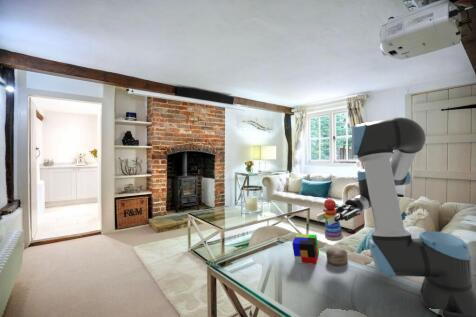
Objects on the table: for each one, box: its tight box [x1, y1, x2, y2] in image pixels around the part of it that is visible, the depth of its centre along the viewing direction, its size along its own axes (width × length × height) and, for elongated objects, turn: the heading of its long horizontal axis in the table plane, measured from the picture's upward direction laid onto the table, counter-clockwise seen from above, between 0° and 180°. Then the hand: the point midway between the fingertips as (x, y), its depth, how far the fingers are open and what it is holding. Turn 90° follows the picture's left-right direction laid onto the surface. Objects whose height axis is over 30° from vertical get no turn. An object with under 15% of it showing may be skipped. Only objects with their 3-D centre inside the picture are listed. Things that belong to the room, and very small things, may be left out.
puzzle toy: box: [291, 233, 320, 265], centre depth 118 cm, size 10×10×10 cm
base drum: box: [325, 247, 349, 267], centre depth 111 cm, size 9×9×4 cm
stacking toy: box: [323, 198, 344, 242], centre depth 109 cm, size 8×8×19 cm
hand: (322, 220), depth 107 cm, fingers closed on stacking toy, 6 cm apart
